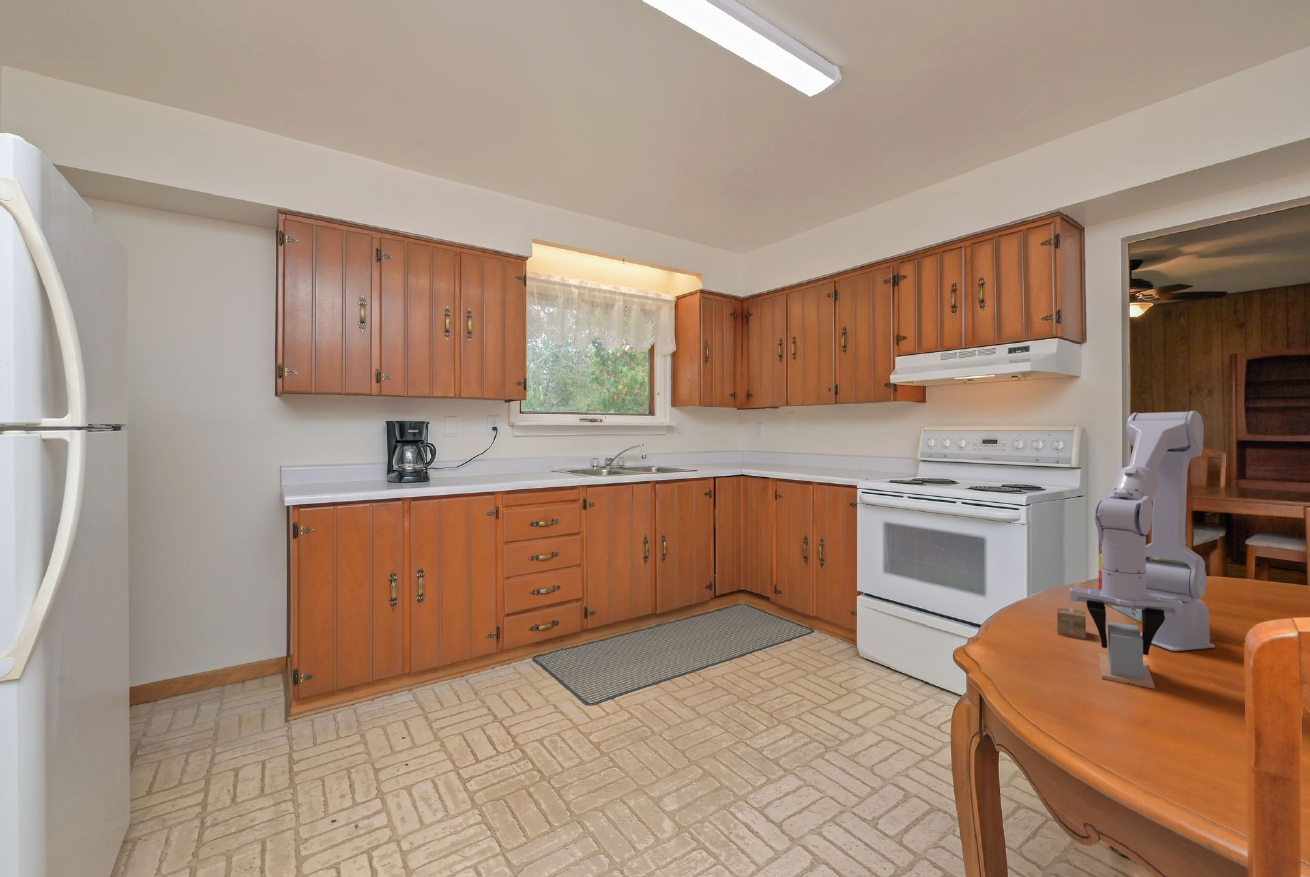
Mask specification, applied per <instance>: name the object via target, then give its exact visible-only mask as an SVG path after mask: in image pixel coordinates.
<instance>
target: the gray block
mask: <svg viewBox="0 0 1310 877" xmlns="http://www.w3.org/2000/svg"><path fill="white" fill-rule="evenodd" d="M1106 623H1107V624H1106V625H1107V626H1106V628H1107V655H1108V662H1109V666H1110V671H1111V674H1112V675H1117V676H1122V677H1128V678H1133V679H1138V680H1143V661H1144V655H1143V639H1142V637H1141V634H1140V633H1141V631H1140V629H1139V626H1138V625H1135V624H1128V623H1122V622H1113V621H1109V620H1108V621H1107V620H1106Z"/></svg>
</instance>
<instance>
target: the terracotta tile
mask: <svg viewBox="0 0 1310 877" xmlns="http://www.w3.org/2000/svg"><path fill="white" fill-rule="evenodd" d="M1097 653H1098V654H1097V655H1098V656H1097V657H1098V664H1099V670H1100V676H1101V679H1102V680H1108V681H1113V682H1118V683H1121V684H1122V683H1123V684H1127V683H1130V684H1129V685H1132V684H1134V686H1139V687H1144V688H1148V689H1153V690H1155V683H1154V680H1153V677H1152V675H1151V671H1150V668H1149V666H1148V663H1147V661H1146V660H1143V680H1138V679H1133V678H1128V677H1122V676H1117V675H1112V674H1111V671H1110V666H1109V662H1108V653H1107V654H1106V653H1101V652H1097Z"/></svg>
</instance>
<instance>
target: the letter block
mask: <svg viewBox="0 0 1310 877" xmlns="http://www.w3.org/2000/svg"><path fill="white" fill-rule="evenodd" d="M1056 608H1057V611H1056V612H1057V613H1056V614H1057V623H1056V624H1057V635H1059V634H1064V635H1063V636H1065V635H1067V636H1066V637H1071V636H1075V637H1074V638H1077V637H1079V638H1078V639H1083V638H1086V639H1087V622H1086V621H1087V620H1086V619H1087V618H1086V616H1087V615H1086V610H1085V609H1078V608H1072V607H1071V608H1070V607H1065V606H1064V607H1063V606H1057V607H1056Z"/></svg>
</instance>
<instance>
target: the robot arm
mask: <svg viewBox="0 0 1310 877" xmlns="http://www.w3.org/2000/svg"><path fill="white" fill-rule="evenodd" d="M1204 428H1205V426H1204V421H1203V417H1202V415H1201V413H1199V412H1198V411H1197V410H1190V411H1174V412H1173V411H1170V412H1168V411H1167V412H1143V413H1142V412H1140V413H1139V412H1133V413H1131V415H1129V417H1128V419H1127V423H1126V434H1127V435H1126V437H1127V439H1128V440H1129V442H1130V445H1131V446H1132V447H1133V448H1132V452H1131V456H1130V459H1129V464H1128V466H1125V467H1123V468H1121V469H1120V470H1118V471H1117V473H1116V475H1115V476H1116V477H1115V479H1114V481H1113V484H1112V486H1111V488H1110V490H1109V493H1108V495H1107V497H1105V498H1103V500H1102V499H1101V500H1099V501H1098V502H1097V503H1096V506H1095V513H1094V522H1095V526H1096V528H1097V537H1098V541H1099V540H1100V541H1102V590H1099V589H1092V588H1088V589H1087V588H1075V587H1070V588H1069V589H1070V590H1069V595H1070V596H1069V598H1070V600H1069V601H1070V602H1074V603H1075V602H1076V603H1078V602H1084V603H1086V608H1087V610H1088V612H1089V614H1090V616H1091V618H1092V620H1093V622H1094V624H1095V626H1096V629H1097V631H1098V634H1099V637H1100V642H1101V643H1100V646H1101V648H1102V649H1108V636H1107V631H1106V630H1107V629H1106V628H1107V626H1106V625H1107V624H1106V623H1107V619H1106V618H1107V611H1106V606H1108V605H1112V606H1120V607H1127V608H1135V609H1142V623H1141V625H1142V626H1141V628H1142V632H1140V634H1141V637H1142V639H1143V656H1144V655H1145V656H1149V651H1150V647H1151V646H1152V645H1155V646H1158V647H1160V648H1163V649H1165V650H1169V651H1171V652H1181V651H1190V650H1191V651H1192V650H1203V649H1212V648H1215V647H1216V645H1215V644H1214V643H1210V634H1211V633H1210V630H1211V629H1210V612H1209V608H1208V606H1207V605H1206V603H1205V602H1204V601H1203V600H1202V599H1201V598H1204V597H1205V594H1206V591H1207V584H1208V583H1207V582H1208V579H1207V578H1208V577H1207V573H1206V563H1205V561H1204V559H1203V557H1202V556H1201V555H1200V554H1198V553H1196V552H1195V551H1193V550H1192V549H1190V548H1189V547H1188V546H1186V527H1187V526H1186V523H1187V494H1188V492H1187V490H1188V470H1189V465H1190V461H1191V459H1194V458H1198V457H1200V456H1202V452H1203V450H1204V433H1205V432H1204ZM1150 531H1151V542H1150V543H1148V544H1147V540H1146V539H1147V538H1146V537H1147V535H1148V534H1149V533H1150ZM1152 557H1155V558H1162V559H1169V560H1176V561H1182V562H1185V563H1186V564H1181V563H1174V562H1167V561H1160V560H1153V559H1150V558H1152ZM1151 644H1152V645H1151Z"/></svg>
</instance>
